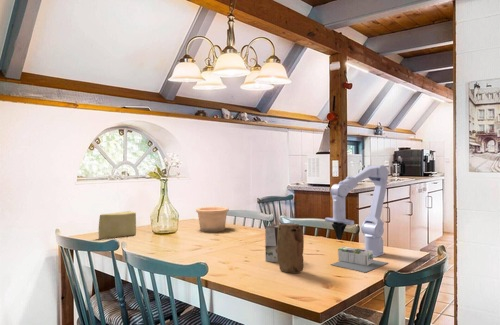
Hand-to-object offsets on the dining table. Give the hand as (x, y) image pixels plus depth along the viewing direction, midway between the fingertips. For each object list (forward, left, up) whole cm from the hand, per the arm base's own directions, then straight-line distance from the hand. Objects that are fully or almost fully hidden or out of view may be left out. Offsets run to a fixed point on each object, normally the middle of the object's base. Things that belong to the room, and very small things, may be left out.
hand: (339, 238), depth 181 cm
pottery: (-8, -105, -10) cm, 106 cm away
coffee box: (+20, -22, -10) cm, 31 cm away
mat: (0, +10, -10) cm, 14 cm away
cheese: (+48, -131, -10) cm, 140 cm away
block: (+29, -5, -10) cm, 31 cm away
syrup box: (0, 0, -7) cm, 7 cm away
